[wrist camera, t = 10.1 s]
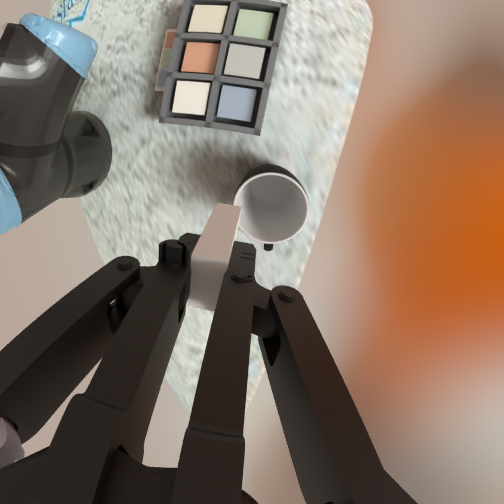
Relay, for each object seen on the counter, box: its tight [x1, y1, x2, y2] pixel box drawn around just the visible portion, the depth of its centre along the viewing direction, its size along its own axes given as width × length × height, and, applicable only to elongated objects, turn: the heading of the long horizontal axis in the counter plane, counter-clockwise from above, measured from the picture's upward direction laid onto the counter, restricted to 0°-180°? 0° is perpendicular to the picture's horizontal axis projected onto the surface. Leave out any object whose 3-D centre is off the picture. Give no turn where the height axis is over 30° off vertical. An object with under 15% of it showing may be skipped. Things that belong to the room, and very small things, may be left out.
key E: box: [233, 9, 274, 40], centre depth 27 cm, size 4×4×2 cm
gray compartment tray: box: [154, 0, 288, 136], centre depth 30 cm, size 17×20×4 cm
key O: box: [172, 81, 212, 115], centre depth 32 cm, size 4×4×2 cm
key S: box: [188, 5, 229, 35], centre depth 26 cm, size 4×4×2 cm
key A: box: [217, 85, 257, 122], centre depth 33 cm, size 4×4×2 cm
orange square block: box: [181, 42, 220, 75], centre depth 29 cm, size 4×4×2 cm
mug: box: [233, 165, 309, 251], centre depth 37 cm, size 12×9×10 cm
